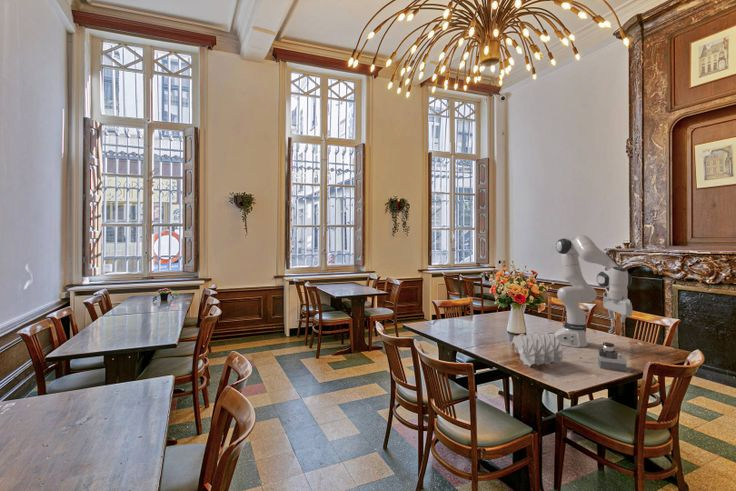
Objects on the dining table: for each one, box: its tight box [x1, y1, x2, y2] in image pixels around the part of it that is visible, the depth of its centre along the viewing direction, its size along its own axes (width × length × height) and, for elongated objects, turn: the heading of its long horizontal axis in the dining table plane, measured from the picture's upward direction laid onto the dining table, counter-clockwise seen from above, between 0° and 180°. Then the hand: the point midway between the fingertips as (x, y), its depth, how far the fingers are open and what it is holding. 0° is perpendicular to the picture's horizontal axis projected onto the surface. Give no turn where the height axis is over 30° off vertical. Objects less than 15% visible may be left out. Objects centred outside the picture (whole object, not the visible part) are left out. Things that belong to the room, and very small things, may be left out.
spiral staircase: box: [511, 331, 564, 368], centre depth 216 cm, size 18×18×25 cm
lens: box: [602, 342, 615, 353], centre depth 213 cm, size 5×5×7 cm
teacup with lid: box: [510, 333, 525, 355], centre depth 237 cm, size 12×9×12 cm
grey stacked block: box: [597, 347, 628, 372], centre depth 212 cm, size 12×9×9 cm
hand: (616, 319), depth 216 cm, fingers open, 8 cm apart
